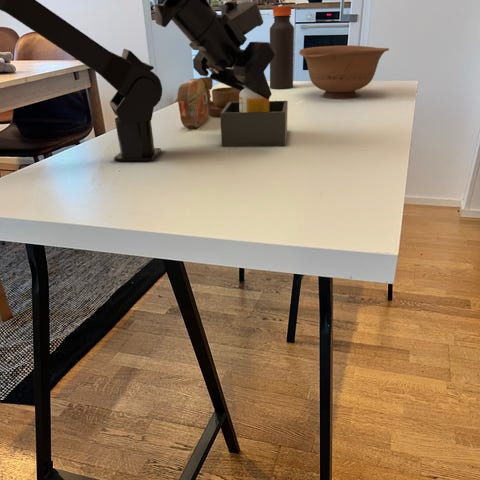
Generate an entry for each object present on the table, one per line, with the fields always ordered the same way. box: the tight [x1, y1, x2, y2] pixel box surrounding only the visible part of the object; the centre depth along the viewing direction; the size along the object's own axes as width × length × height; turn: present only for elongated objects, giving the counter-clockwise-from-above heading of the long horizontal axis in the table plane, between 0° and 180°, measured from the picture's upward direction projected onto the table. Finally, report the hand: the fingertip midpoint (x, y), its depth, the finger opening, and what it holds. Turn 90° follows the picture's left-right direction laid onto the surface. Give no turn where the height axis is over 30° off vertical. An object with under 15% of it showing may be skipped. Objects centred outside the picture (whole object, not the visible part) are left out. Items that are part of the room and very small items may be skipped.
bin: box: [219, 100, 289, 147], centre depth 88 cm, size 11×11×6 cm
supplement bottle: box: [239, 88, 270, 112], centre depth 86 cm, size 5×5×10 cm
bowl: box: [298, 44, 390, 99], centre depth 122 cm, size 22×22×11 cm
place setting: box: [202, 76, 241, 117], centre depth 113 cm, size 18×20×6 cm
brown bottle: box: [269, 5, 295, 90], centre depth 135 cm, size 7×7×20 cm
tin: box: [177, 77, 210, 129], centre depth 100 cm, size 15×3×8 cm, turn 169°
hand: (260, 94), depth 86 cm, fingers closed on supplement bottle, 5 cm apart
